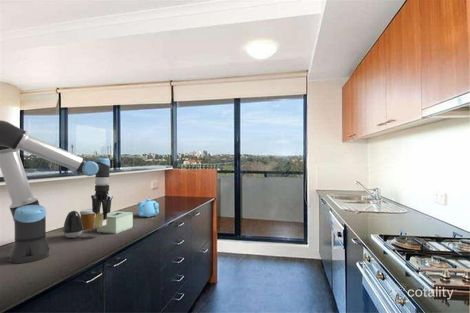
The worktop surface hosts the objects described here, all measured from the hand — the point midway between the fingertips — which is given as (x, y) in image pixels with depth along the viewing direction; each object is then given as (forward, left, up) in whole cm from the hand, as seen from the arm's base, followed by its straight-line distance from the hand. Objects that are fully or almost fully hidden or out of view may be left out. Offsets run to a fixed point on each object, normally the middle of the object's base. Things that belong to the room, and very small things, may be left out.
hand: (100, 224), depth 160 cm
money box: (+17, +4, -7) cm, 18 cm away
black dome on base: (-3, +17, -7) cm, 19 cm away
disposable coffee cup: (+15, +24, -7) cm, 29 cm away
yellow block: (0, 0, -1) cm, 1 cm away
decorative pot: (+59, +8, -8) cm, 60 cm away
